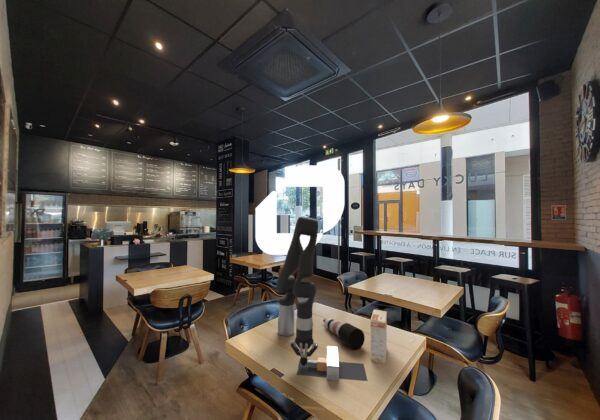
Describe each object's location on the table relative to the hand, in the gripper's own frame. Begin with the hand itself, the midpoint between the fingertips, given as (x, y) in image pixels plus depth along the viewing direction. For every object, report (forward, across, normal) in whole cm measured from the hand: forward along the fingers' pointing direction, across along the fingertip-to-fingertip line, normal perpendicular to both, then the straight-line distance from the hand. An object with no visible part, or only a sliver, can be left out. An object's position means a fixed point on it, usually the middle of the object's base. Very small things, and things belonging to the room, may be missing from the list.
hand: (303, 364), depth 111 cm
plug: (+1, +8, 0) cm, 8 cm away
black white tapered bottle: (+2, +17, +33) cm, 37 cm away
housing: (+1, +13, 0) cm, 13 cm away
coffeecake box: (+2, +36, +17) cm, 40 cm away
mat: (+2, +12, 0) cm, 13 cm away
